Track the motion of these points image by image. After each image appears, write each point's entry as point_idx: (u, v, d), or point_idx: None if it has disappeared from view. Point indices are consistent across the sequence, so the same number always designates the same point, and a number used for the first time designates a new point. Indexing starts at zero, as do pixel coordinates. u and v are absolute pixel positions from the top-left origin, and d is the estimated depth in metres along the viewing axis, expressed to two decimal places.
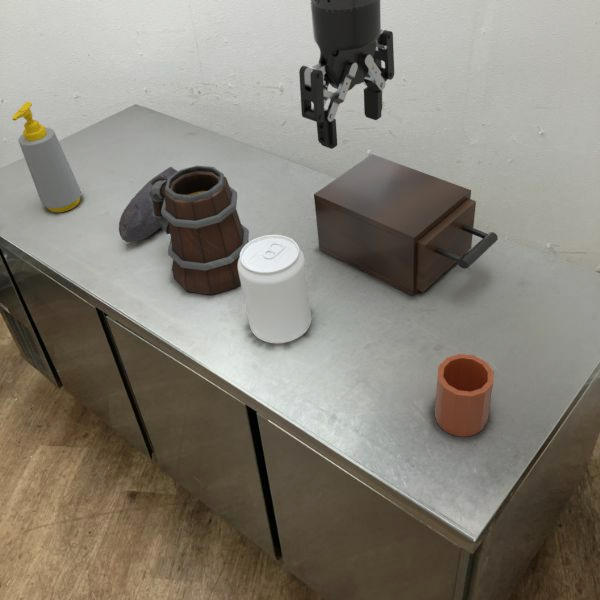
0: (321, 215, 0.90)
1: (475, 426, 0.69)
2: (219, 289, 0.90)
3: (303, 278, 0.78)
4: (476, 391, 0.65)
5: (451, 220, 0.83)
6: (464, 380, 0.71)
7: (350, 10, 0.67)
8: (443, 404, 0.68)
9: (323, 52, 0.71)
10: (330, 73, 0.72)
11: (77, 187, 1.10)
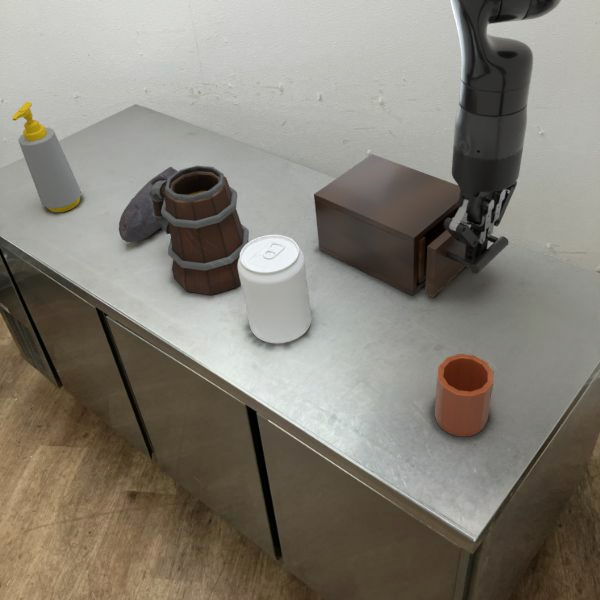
0: (321, 215, 0.90)
1: (475, 426, 0.69)
2: (219, 289, 0.90)
3: (303, 278, 0.78)
4: (476, 391, 0.65)
5: None
6: (464, 380, 0.71)
7: (499, 160, 0.69)
8: (443, 404, 0.68)
9: (464, 192, 0.73)
10: (470, 211, 0.74)
11: (77, 187, 1.10)
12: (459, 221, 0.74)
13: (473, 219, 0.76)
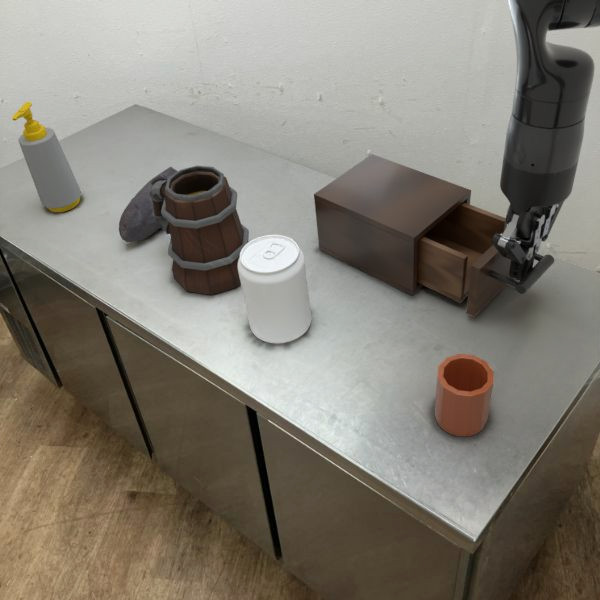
0: (321, 215, 0.90)
1: (475, 426, 0.69)
2: (219, 289, 0.90)
3: (303, 278, 0.78)
4: (476, 391, 0.65)
5: None
6: (464, 380, 0.71)
7: (554, 174, 0.66)
8: (443, 404, 0.68)
9: (515, 207, 0.70)
10: (520, 227, 0.70)
11: (77, 187, 1.10)
12: (508, 237, 0.71)
13: (522, 235, 0.72)
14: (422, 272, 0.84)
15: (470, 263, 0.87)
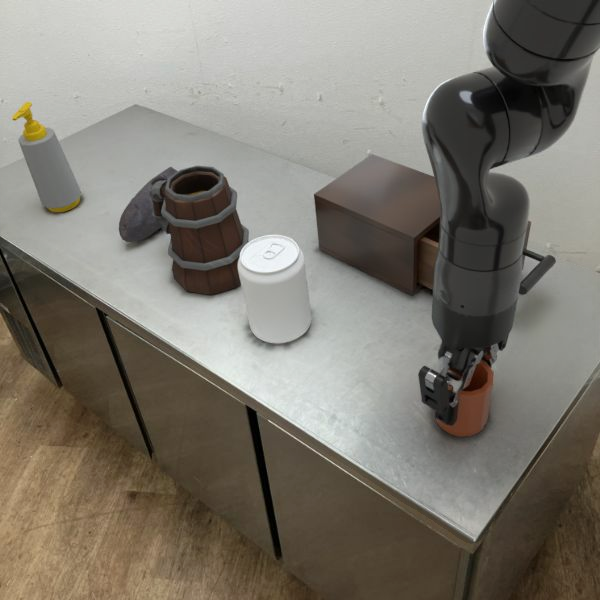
0: (321, 215, 0.90)
1: (475, 427, 0.69)
2: (219, 289, 0.90)
3: (303, 278, 0.78)
4: (476, 391, 0.65)
5: None
6: None
7: (487, 316, 0.56)
8: None
9: (447, 345, 0.60)
10: (453, 367, 0.61)
11: (77, 187, 1.10)
12: (439, 372, 0.60)
13: (458, 371, 0.63)
14: (423, 273, 0.84)
15: None
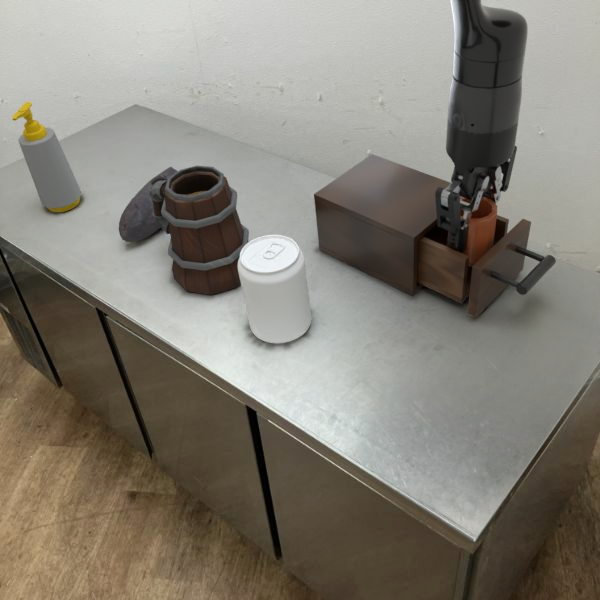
0: (321, 215, 0.90)
1: (481, 256, 0.81)
2: (219, 289, 0.90)
3: (303, 278, 0.78)
4: (482, 218, 0.77)
5: (506, 242, 0.79)
6: None
7: (493, 133, 0.68)
8: None
9: (459, 168, 0.72)
10: (464, 187, 0.73)
11: (77, 187, 1.10)
12: (452, 190, 0.72)
13: (468, 196, 0.75)
14: (423, 273, 0.84)
15: None
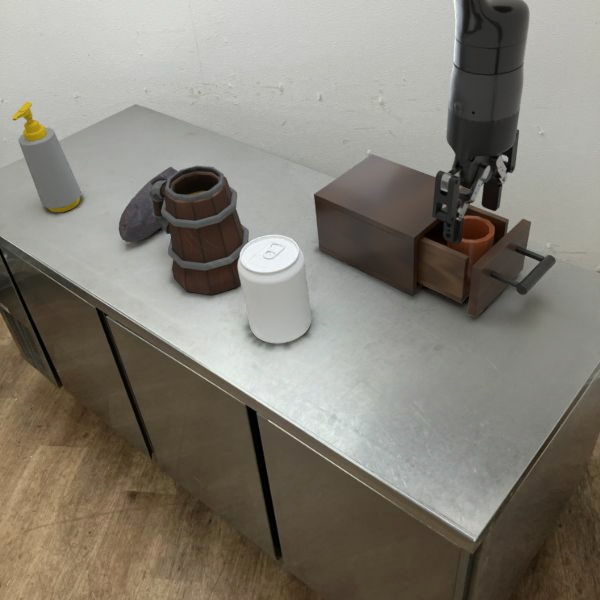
0: (321, 215, 0.90)
1: None
2: (219, 289, 0.90)
3: (303, 278, 0.78)
4: (480, 239, 0.79)
5: (506, 242, 0.79)
6: None
7: (494, 121, 0.67)
8: None
9: (459, 157, 0.71)
10: (465, 177, 0.72)
11: (77, 187, 1.10)
12: (454, 174, 0.71)
13: (468, 186, 0.74)
14: (423, 273, 0.84)
15: None
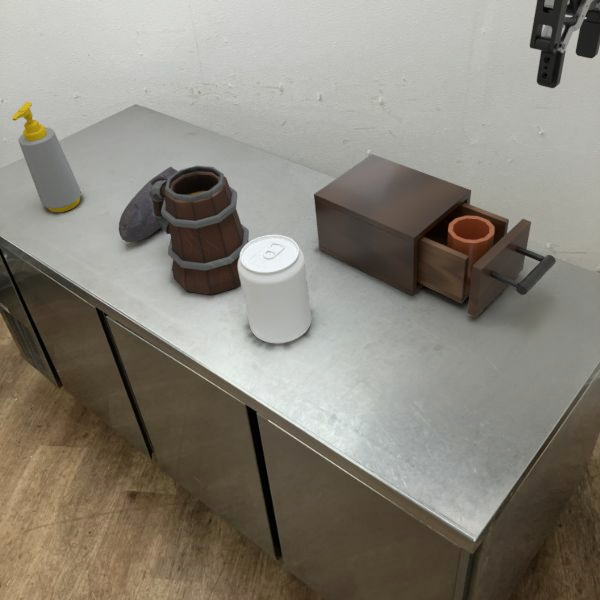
0: (321, 215, 0.90)
1: None
2: (219, 289, 0.90)
3: (303, 278, 0.78)
4: (480, 239, 0.79)
5: (506, 242, 0.79)
6: None
7: None
8: None
9: None
10: None
11: (77, 187, 1.10)
12: None
13: (574, 9, 0.62)
14: (423, 273, 0.84)
15: None
